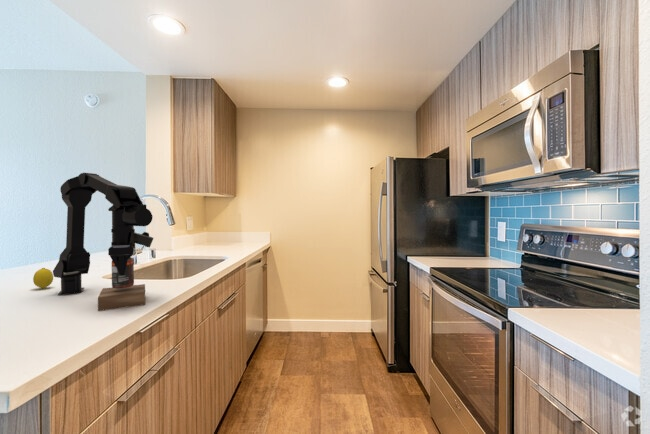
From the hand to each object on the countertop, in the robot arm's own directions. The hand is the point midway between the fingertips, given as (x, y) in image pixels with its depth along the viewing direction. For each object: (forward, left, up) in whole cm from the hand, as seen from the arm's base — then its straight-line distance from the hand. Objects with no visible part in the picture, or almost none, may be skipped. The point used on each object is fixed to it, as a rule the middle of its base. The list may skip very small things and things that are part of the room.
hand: (123, 273), depth 97 cm
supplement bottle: (0, 0, -4) cm, 4 cm away
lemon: (-35, -27, -10) cm, 45 cm away
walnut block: (0, 0, -9) cm, 9 cm away
